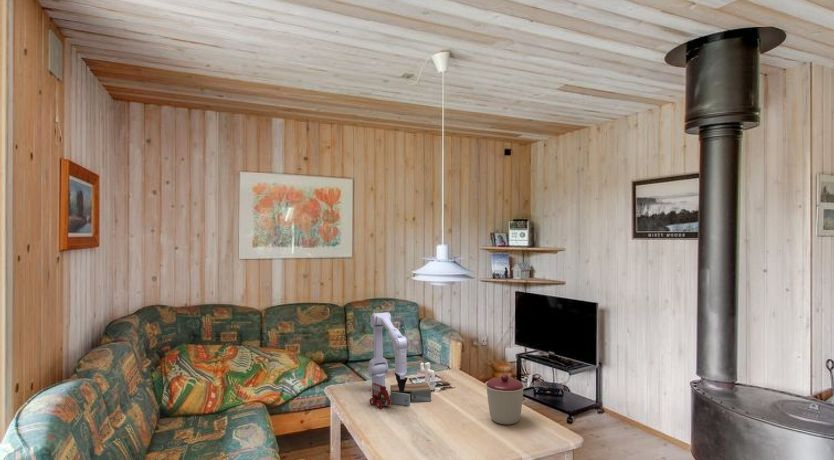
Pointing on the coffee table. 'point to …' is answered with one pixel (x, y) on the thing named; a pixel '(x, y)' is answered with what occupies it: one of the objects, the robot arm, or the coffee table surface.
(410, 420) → the coffee table surface
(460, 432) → the coffee table surface
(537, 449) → the coffee table surface
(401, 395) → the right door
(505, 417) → the canister
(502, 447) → the coffee table surface
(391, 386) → the cabinet
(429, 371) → the figurine
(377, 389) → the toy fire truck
